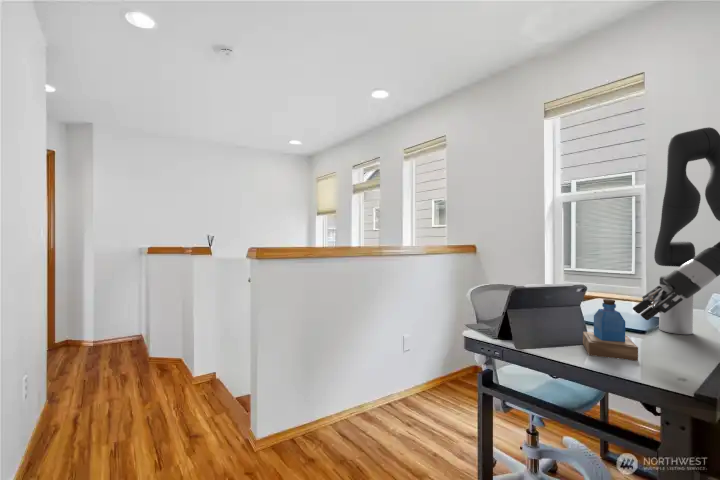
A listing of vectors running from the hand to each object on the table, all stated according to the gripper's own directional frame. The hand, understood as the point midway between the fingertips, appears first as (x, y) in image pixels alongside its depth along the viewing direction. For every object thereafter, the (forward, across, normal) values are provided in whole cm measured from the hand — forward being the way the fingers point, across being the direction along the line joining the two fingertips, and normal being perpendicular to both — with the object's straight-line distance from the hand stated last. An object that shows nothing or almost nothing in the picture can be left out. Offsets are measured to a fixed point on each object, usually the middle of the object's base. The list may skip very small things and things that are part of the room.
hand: (639, 314), depth 105 cm
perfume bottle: (+11, 0, 0) cm, 11 cm away
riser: (+14, 0, +3) cm, 15 cm away
